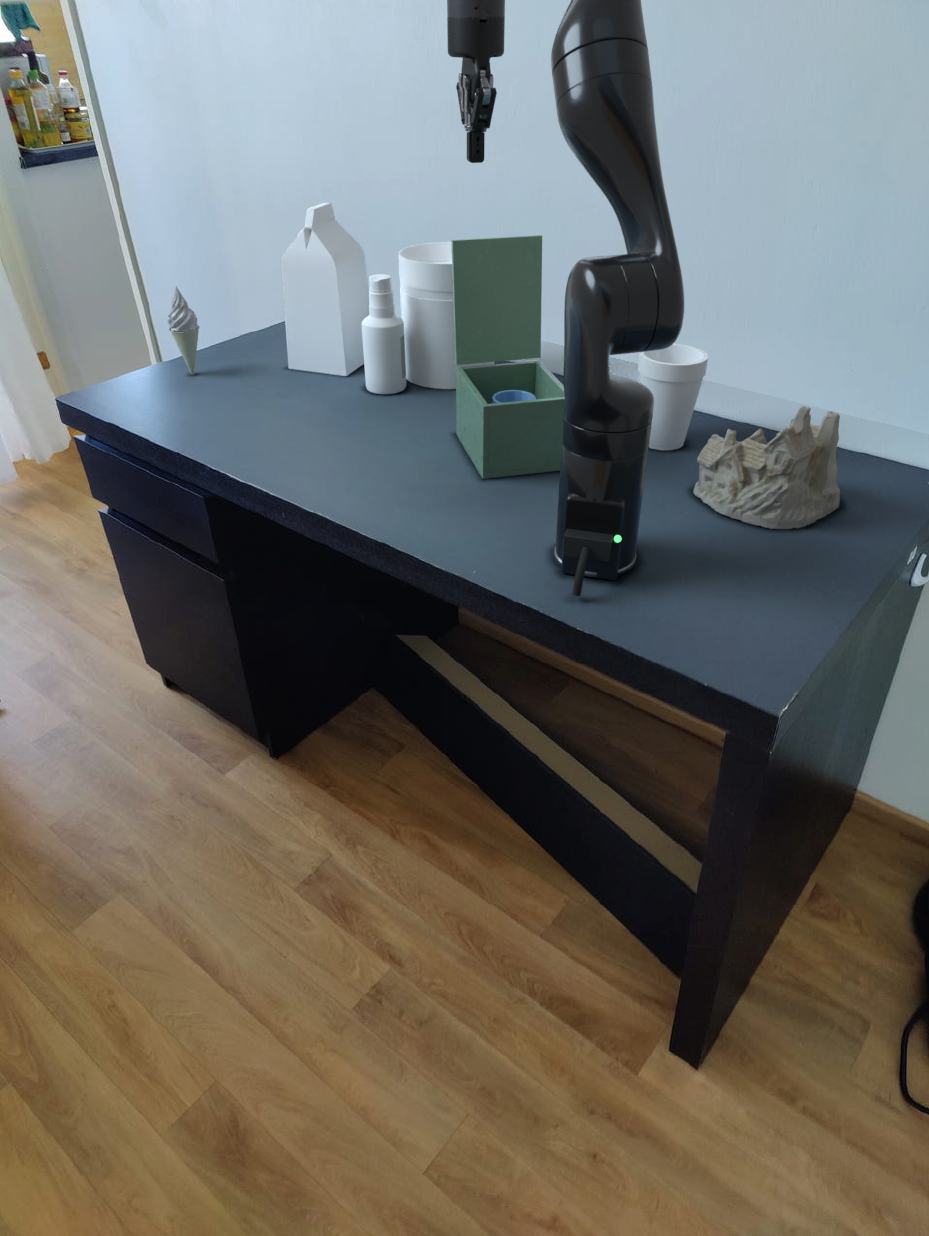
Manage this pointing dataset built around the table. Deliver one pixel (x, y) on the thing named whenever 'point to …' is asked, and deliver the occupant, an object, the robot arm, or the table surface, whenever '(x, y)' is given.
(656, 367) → the foam cup
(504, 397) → the cup
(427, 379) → the canister
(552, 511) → the table surface
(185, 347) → the ice cream cone
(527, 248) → the lid
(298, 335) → the milk
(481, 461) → the green box
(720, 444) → the ceramic cottage
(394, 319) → the spray bottle
